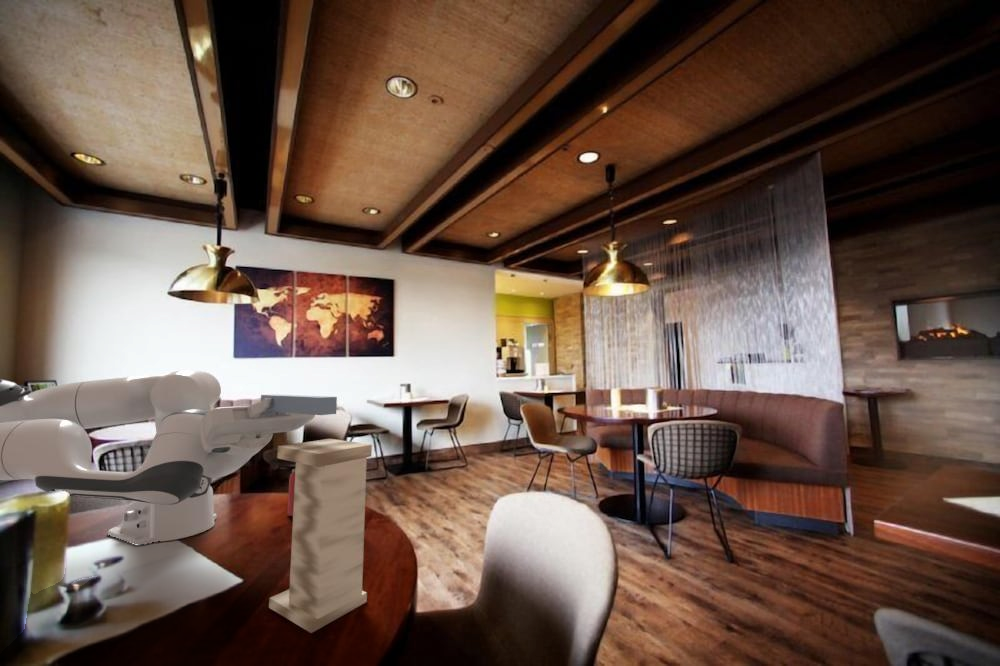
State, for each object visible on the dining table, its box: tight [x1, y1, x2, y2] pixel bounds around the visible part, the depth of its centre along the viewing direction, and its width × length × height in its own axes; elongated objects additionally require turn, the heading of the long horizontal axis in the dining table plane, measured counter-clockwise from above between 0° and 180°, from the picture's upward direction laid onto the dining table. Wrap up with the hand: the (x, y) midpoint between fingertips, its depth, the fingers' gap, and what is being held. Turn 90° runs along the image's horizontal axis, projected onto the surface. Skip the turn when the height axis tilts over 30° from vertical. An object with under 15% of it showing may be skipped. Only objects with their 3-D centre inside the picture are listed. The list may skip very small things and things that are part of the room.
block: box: [260, 393, 338, 416], centre depth 77 cm, size 20×3×3 cm, turn 57°
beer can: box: [287, 468, 296, 518], centre depth 112 cm, size 7×7×12 cm
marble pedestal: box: [268, 438, 373, 634], centre depth 69 cm, size 12×10×26 cm
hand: (281, 400), depth 80 cm, fingers closed on block, 3 cm apart
